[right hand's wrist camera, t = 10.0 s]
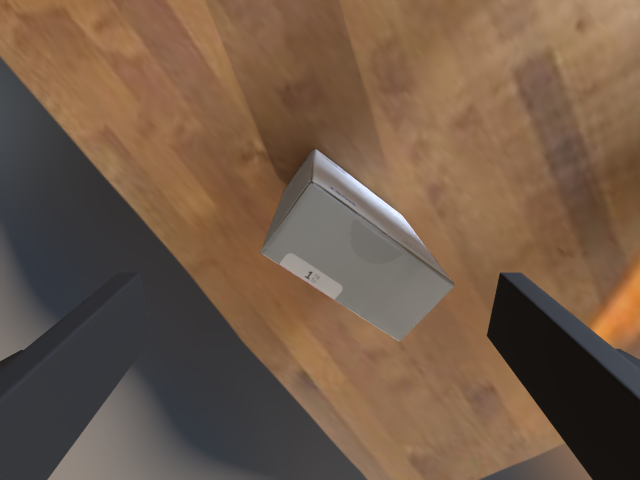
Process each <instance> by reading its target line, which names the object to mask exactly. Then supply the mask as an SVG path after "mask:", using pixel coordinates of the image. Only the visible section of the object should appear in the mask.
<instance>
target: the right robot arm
mask: <svg viewBox="0 0 640 480" xmlns="http://www.w3.org/2000/svg"><path fill="white" fill-rule="evenodd" d="M152 337H153V333H152V328H151V324H150V319H149V314H148V309H147V304H146V299H145V295H144V290H143V285H142V280H141V275H140V273H118V274H117V275H116V276H114V277H113V278H112V279H111V280H109V281H108V282H107V283H106V284H104V285H103V286H102V287H101V288H100V289H98V290H97V291H96V292H95V293H93V294H92V295H91V296H90V297H88V298H87V299H86V300H85V301H84V302H82V303H81V304H80V305H79V306H77V307H76V308H75V309H74V310H73V311H71V312H70V313H69V314H68V315H66V316H65V317H64V318H63V319H61V320H60V321H59V322H58V323H57V324H55V325H54V326H53V327H52V328H50V329H49V330H48V331H47V332H46V333H44V334H43V335H42V336H41V337H39V338H38V339H37V340H36V341H35V342H33V343H32V344H31V345H30V346H28V347H27V348H26V349H25V350H20V351H19V352H17V353H15V354H13V355H11V356H9V357H7V358H6V359H4V360H2V361H0V480H47V479H48V478H49V477H50V475H51V474H52V472H53V471H54V470H55V468H56V467H57V466H58V464H59V463H60V462H61V460H62V459H63V457H64V456H65V455H66V453H67V452H68V451H69V449H70V448H71V447H72V445H73V444H74V443H75V441H76V440H77V439H78V437H79V436H80V434H81V433H82V432H83V430H84V429H85V428H86V426H87V425H88V424H89V422H90V421H91V420H92V418H93V417H94V415H95V414H96V413H97V411H98V410H99V409H100V407H101V406H102V405H103V403H104V402H105V400H106V399H107V398H108V396H109V395H110V394H111V392H112V391H113V390H114V388H115V387H116V386H117V384H118V383H119V381H120V380H121V379H122V377H123V376H124V375H125V373H126V372H127V371H128V369H129V368H130V366H131V365H132V364H133V362H134V361H135V360H136V358H137V357H138V356H139V354H140V353H141V352H142V350H143V349H144V347H145V346H146V345H147V343H148V342H149V341H150V339H151V338H152ZM487 337H488V338H489V339H490V341H491V342H492V343H493V345H494V346H495V347H496V349H497V350H498V352H499V353H500V354H501V356H502V357H503V358H504V360H505V361H506V362H507V364H508V365H509V367H510V368H511V369H512V371H513V372H514V373H515V375H516V376H517V377H518V379H519V380H520V381H521V383H522V384H523V386H524V387H525V388H526V390H527V391H528V392H529V394H530V395H531V396H532V398H533V399H534V400H535V402H536V403H537V405H538V406H539V407H540V409H541V410H542V411H543V413H544V414H545V415H546V417H547V418H548V420H549V421H550V422H551V424H552V425H553V426H554V428H555V429H556V430H557V432H558V433H559V434H560V436H561V437H562V439H563V440H564V441H565V443H566V444H567V445H568V447H569V448H570V449H571V451H572V452H573V453H574V455H575V456H576V458H577V459H578V460H579V462H580V463H581V464H582V466H583V467H584V468H585V470H586V471H587V473H588V474H589V475H590V477H591V478H592V479H593V480H640V360H639V359H637V358H635V357H634V356H632V355H630V354H628V353H626V352H624V351H622V350H620V349H614V348H613V347H612V346H610V345H609V344H608V343H607V342H606V341H604V340H603V339H602V338H601V337H599V336H598V335H597V334H596V333H594V332H593V331H592V330H591V329H590V328H588V327H587V326H586V325H585V324H583V323H582V322H581V321H580V320H579V319H577V318H576V317H575V316H574V315H572V314H571V313H570V312H569V311H567V310H566V309H565V308H564V307H563V306H561V305H560V304H559V303H558V302H556V301H555V300H554V299H553V298H552V297H550V296H549V295H548V294H547V293H545V292H544V291H543V290H542V289H540V288H539V287H538V286H537V285H536V284H534V283H533V282H532V281H531V280H529V279H528V278H527V277H526V276H524V275H523V274H522V273H500V275H499V280H498V285H497V290H496V295H495V299H494V304H493V309H492V314H491V319H490V324H489V328H488V333H487Z"/></svg>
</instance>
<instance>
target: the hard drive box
mask: <svg viewBox="0 0 640 480" xmlns="http://www.w3.org/2000/svg"><path fill="white" fill-rule="evenodd" d="M260 253H261V254H263V255H264V256H266V257H267V258H269V259H271V260H272V261H274V262H275V263H277V264H278V265H280V266H281V267H283V268H284V269H286V270H287V271H289V272H291V273H292V274H294V275H295V276H297V277H299V278H300V279H302V280H303V281H305V282H306V283H308V284H309V285H311V286H313V287H314V288H316V289H317V290H319V291H321V292H322V293H324V294H325V295H327V296H328V297H330V298H332V299H333V300H335V301H337V302H338V303H340V304H342V305H343V306H345V307H346V308H348V309H349V310H351V311H352V312H354V313H355V314H357V315H358V316H360V317H361V318H363V319H364V320H366V321H368V322H369V323H371V324H373V325H374V326H376V327H377V328H379V329H380V330H382V331H383V332H385V333H387V334H388V335H390V336H391V337H393V338H394V339H396V340H397V341H400V340H402V339H403V338H404V337H405V336H406V335H407V334H408V333H409V332H410V331H411V330H412V329H413V328H414V327H415V326H416V325H417V324H418V323H419V322H420V321H421V320H422V319H423V318H424V317H425V316H426V315H427V314H428V313H429V312H430V311H431V310H432V308H433V307H434V306H435V305H436V304H437V303H438V302H439V301H440V300H441V299H442V298H443V297H444V296H445V295H446V294H447V293H448V292H449V291H450V290H451V289H452V288H453V287H454V283H453V282H452V280H451V279H450V278H449V277H448V275H447V274H446V273H445V271H444V270H443V269H442V267H441V266H440V265H439V263H438V262H437V261H436V259H435V258H434V257H433V255H432V254H431V253H430V251H429V250H428V249H427V248H426V246H425V245H424V244H423V242H422V241H421V240H420V238H419V237H418V236H417V234H416V233H415V232H414V230H413V229H412V228H411V226H410V225H409V224H408V223H407V221H406V220H405V219H404V217H403V216H402V215H401V214H400V213H398V212H397V211H396V210H394V209H393V208H392V207H390V206H389V205H388V204H387V203H385V202H384V201H383V200H381V199H380V198H379V197H377V196H376V195H375V194H373V193H372V192H371V191H370V190H368V189H367V188H366V187H365V186H363V185H362V184H361V183H359V182H358V181H357V180H356V179H354V178H353V177H352V176H350V175H349V174H348V173H347V172H345V171H344V170H343V169H341V168H340V167H339V166H338V165H336V164H335V163H334V162H332V161H331V160H330V159H328V158H327V157H326V156H325V155H323V154H322V153H321V152H319V151H318V150H317V149H315V150H312V151H311V153H310V154H309V155H308V157H307V158H306V160H305V161H304V162H303V164H302V165H301V167H300V168H299V170H298V171H297V173H296V174H295V176H294V177H293V178H292V180H291V181H290V183H289V184H288V186H287V187H286V189H285V190H284V192H283V194H282V197H281V200H280V203H279V205H278V208H277V210H276V213H275V216H274V218H273V221H272V223H271V226H270V229H269V231H268V234H267V237H266V240H265V242H264V245H263V248H262V250H261V251H260Z"/></svg>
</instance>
